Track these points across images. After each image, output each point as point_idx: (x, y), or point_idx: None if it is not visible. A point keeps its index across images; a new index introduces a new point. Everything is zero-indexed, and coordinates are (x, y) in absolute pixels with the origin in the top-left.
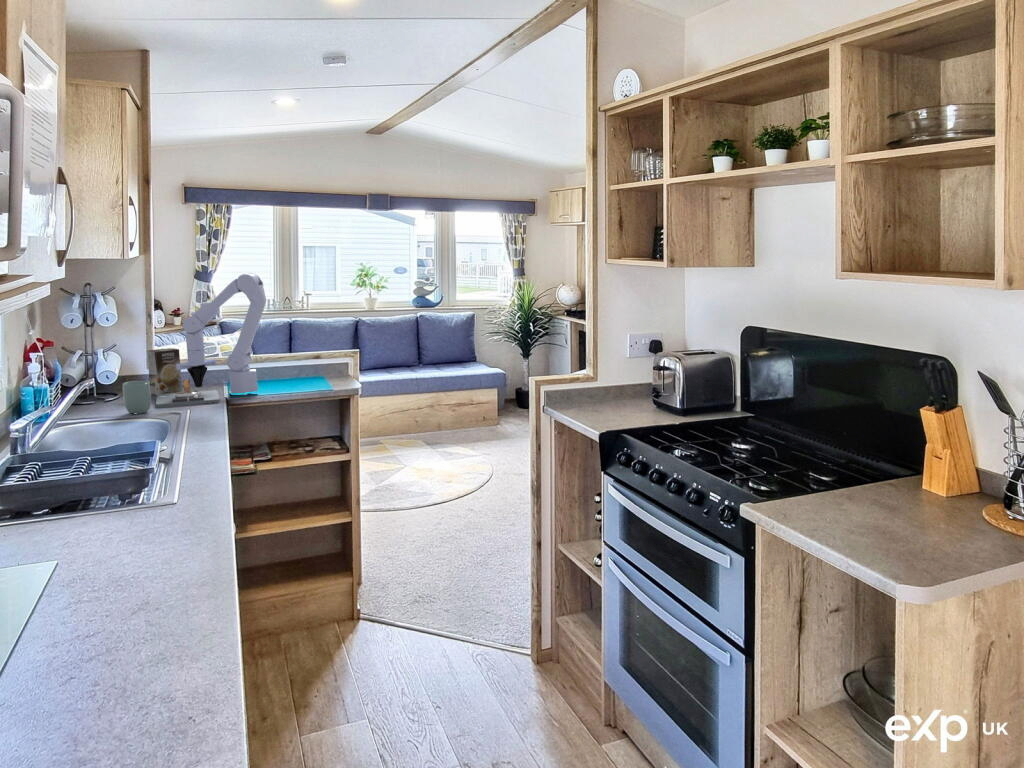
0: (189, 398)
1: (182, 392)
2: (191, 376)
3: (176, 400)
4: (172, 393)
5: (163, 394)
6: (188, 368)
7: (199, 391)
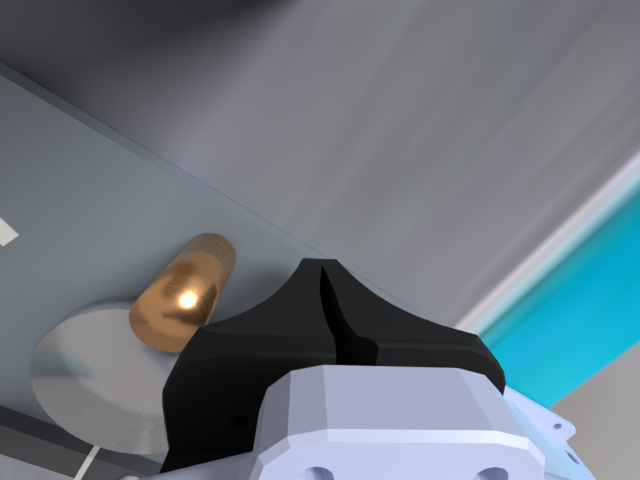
0: (89, 475)
1: (102, 358)
2: (267, 299)
3: (7, 450)
4: (112, 148)
5: (22, 116)
6: (166, 434)
7: None
